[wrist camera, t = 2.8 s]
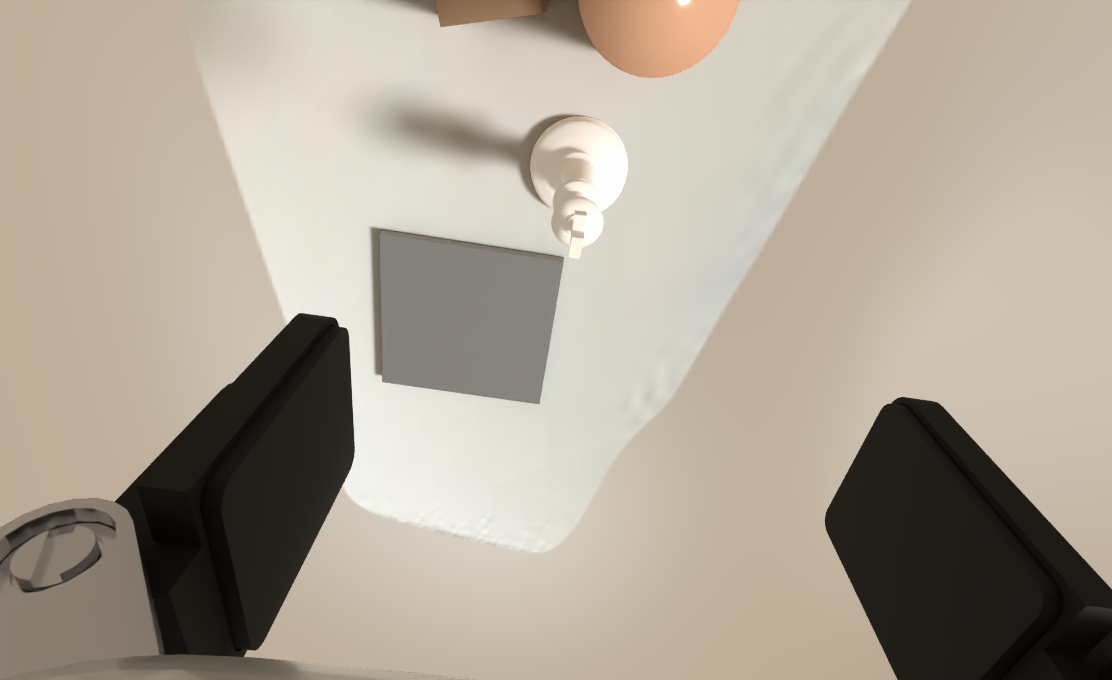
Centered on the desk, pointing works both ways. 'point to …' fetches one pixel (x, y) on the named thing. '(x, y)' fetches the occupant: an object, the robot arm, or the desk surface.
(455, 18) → the walnut block
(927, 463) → the robot arm
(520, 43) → the desk surface
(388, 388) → the desk surface
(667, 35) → the peach rounded dome
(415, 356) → the coaster
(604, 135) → the chess piece
